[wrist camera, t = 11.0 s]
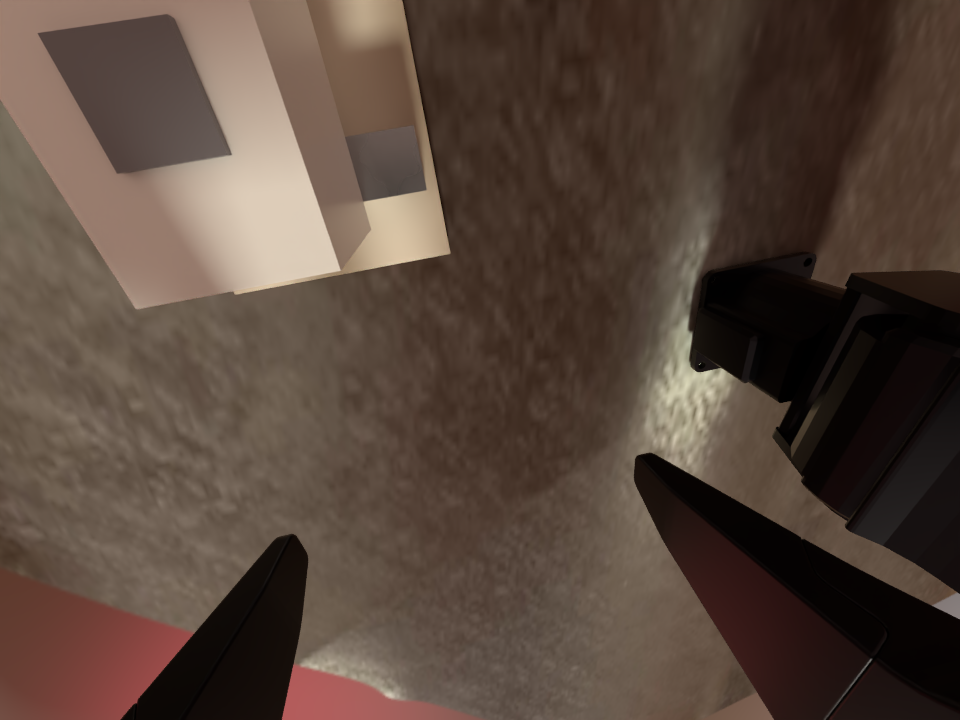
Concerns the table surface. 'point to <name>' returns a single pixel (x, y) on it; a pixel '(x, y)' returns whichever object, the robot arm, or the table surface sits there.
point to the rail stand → (380, 131)
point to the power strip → (187, 138)
